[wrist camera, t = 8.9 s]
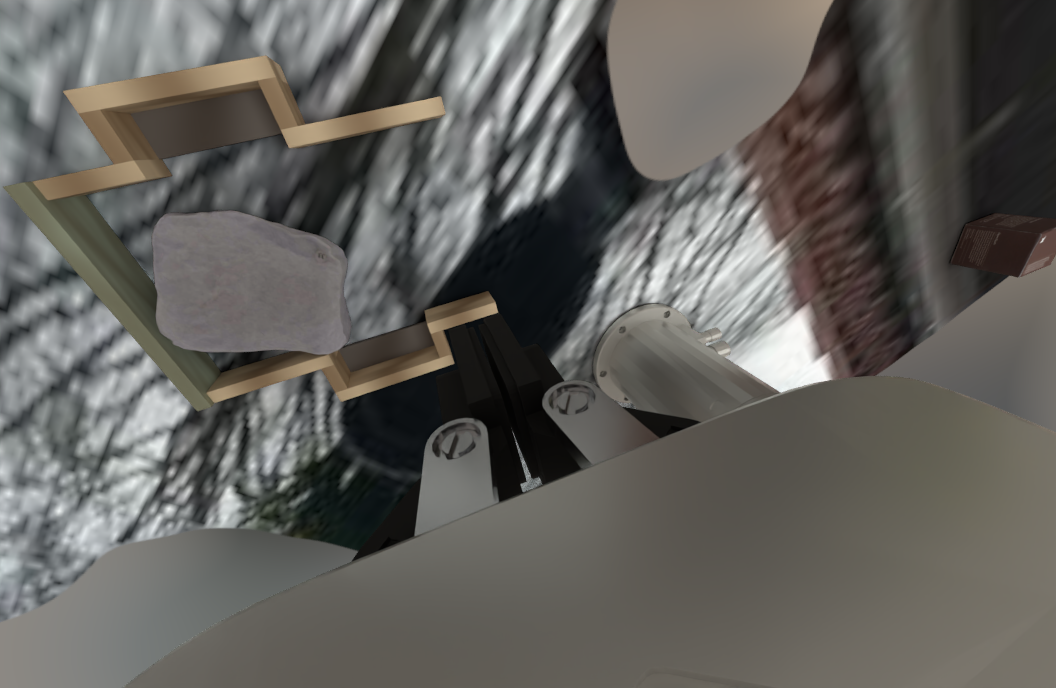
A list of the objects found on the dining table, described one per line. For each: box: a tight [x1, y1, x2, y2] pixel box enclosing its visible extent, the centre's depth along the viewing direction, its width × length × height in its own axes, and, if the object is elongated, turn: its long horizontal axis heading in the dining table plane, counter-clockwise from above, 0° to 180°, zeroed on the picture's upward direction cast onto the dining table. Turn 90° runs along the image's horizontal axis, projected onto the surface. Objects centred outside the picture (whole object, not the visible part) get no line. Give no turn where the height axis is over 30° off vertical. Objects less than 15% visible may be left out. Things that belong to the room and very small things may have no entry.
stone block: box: [152, 210, 352, 355], centre depth 28 cm, size 12×5×10 cm
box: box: [951, 213, 1056, 277], centre depth 50 cm, size 6×6×7 cm
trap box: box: [3, 56, 498, 411], centre depth 27 cm, size 24×23×4 cm
